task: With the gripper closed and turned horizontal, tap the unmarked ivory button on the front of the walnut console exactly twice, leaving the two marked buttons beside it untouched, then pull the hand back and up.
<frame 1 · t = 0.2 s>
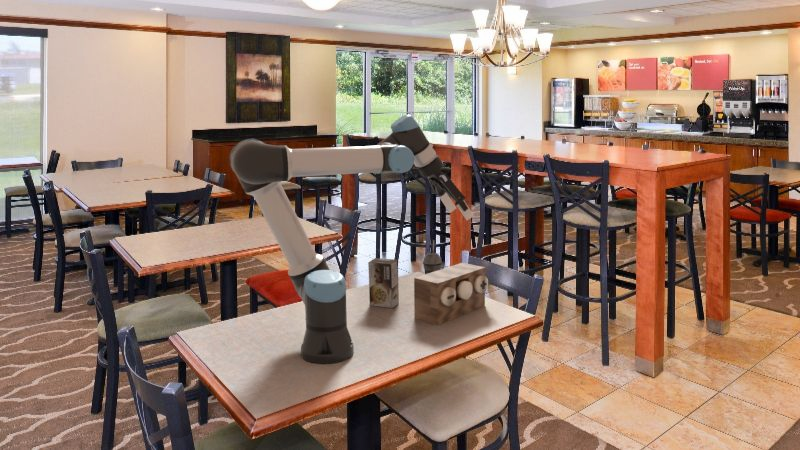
hand: (461, 214, 207), 35 cm above the table, tool tilted 35°, fingers open, 13 cm apart
coffee box: (384, 304, 230), on the table
plain button: (464, 290, 215), point 9 cm above the table, slide at 0.0 cm
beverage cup: (432, 293, 243), on the table
walnut console: (452, 312, 220), on the table
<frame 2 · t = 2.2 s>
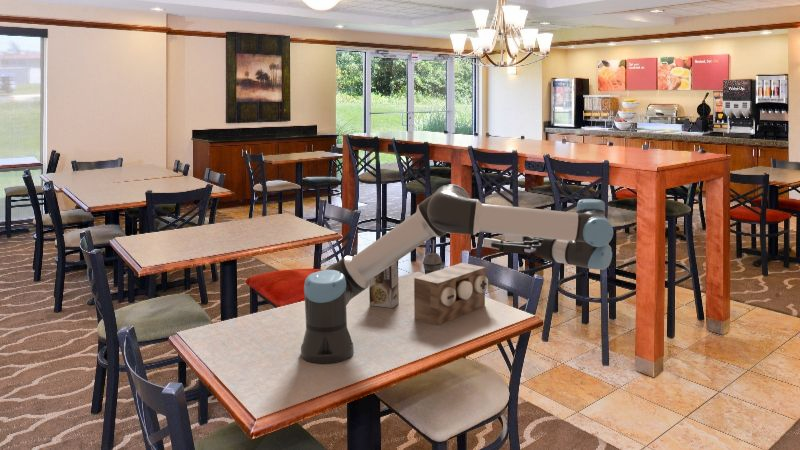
hand: (495, 239, 204), 28 cm above the table, tool horizontal, fingers open, 11 cm apart
nothing on the table moved.
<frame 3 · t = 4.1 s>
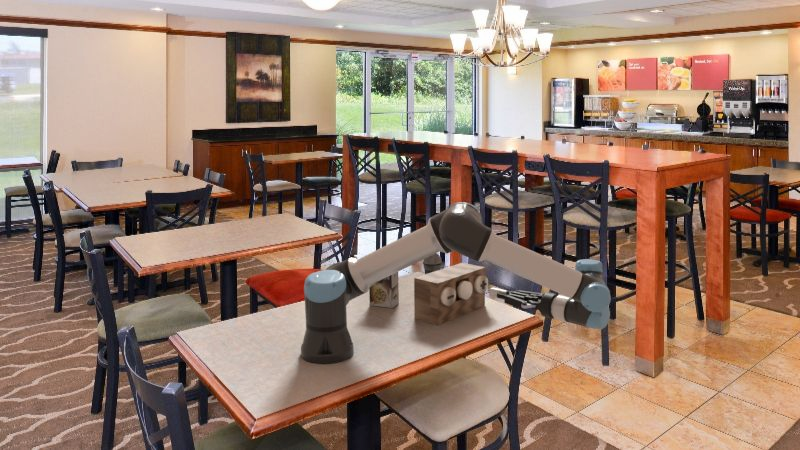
hand: (491, 291, 208), 10 cm above the table, tool horizontal, fingers closed
nothing on the table moved.
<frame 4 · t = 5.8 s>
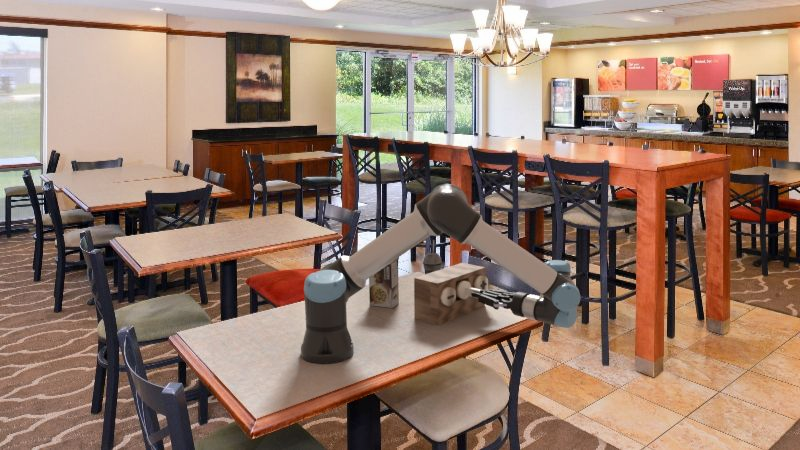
hand: (466, 290, 215), 9 cm above the table, tool horizontal, fingers closed
plain button: (463, 289, 216), point 9 cm above the table, slide at 0.6 cm, touching gripper
everything else where it was.
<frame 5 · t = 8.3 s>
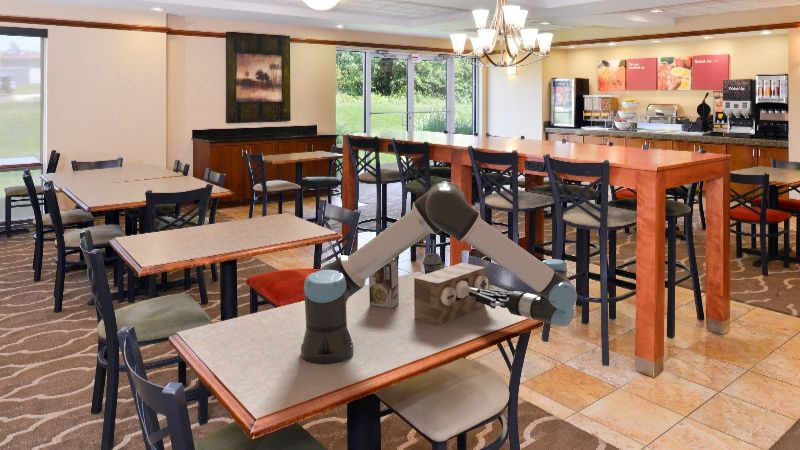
hand: (463, 290, 216), 9 cm above the table, tool horizontal, fingers closed
plain button: (460, 289, 216), point 9 cm above the table, slide at 1.7 cm, touching gripper
everything else where it was.
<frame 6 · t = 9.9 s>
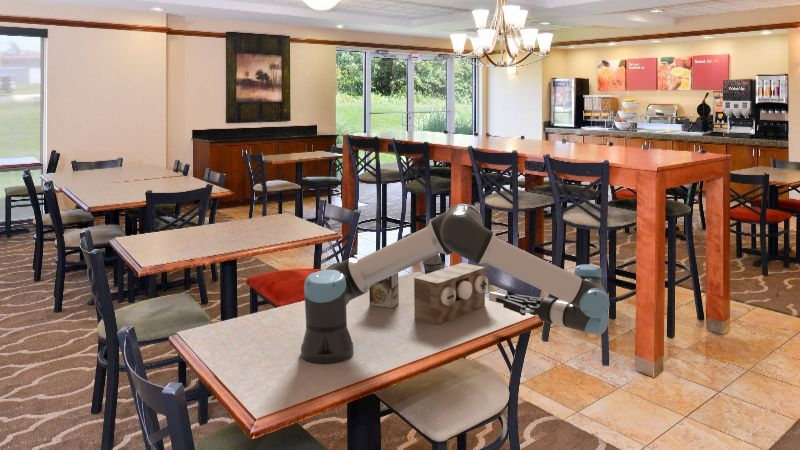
hand: (490, 296, 208), 9 cm above the table, tool horizontal, fingers closed
plain button: (464, 290, 215), point 9 cm above the table, slide at 0.1 cm
everything else where it was.
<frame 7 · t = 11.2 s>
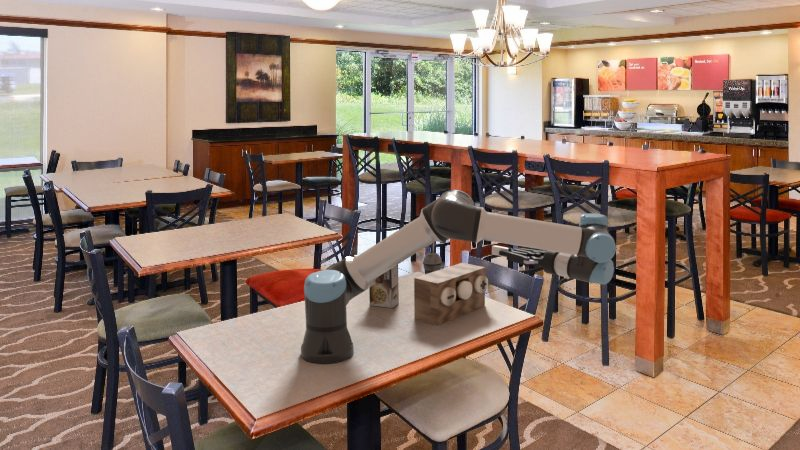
hand: (493, 249, 205), 24 cm above the table, tool horizontal, fingers closed
nothing on the table moved.
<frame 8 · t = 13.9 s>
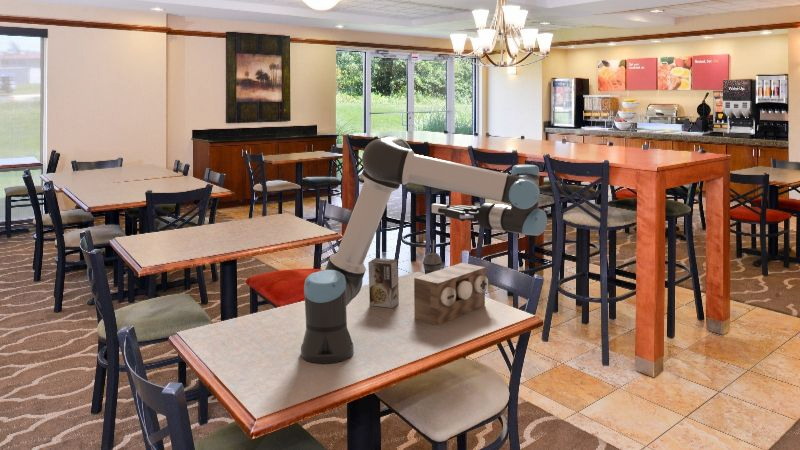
hand: (433, 208, 203), 38 cm above the table, tool horizontal, fingers closed
nothing on the table moved.
at the end: plain button slide at 0.1 cm; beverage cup moved 0.2 cm from its start; coffee box moved 0.2 cm from its start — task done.
